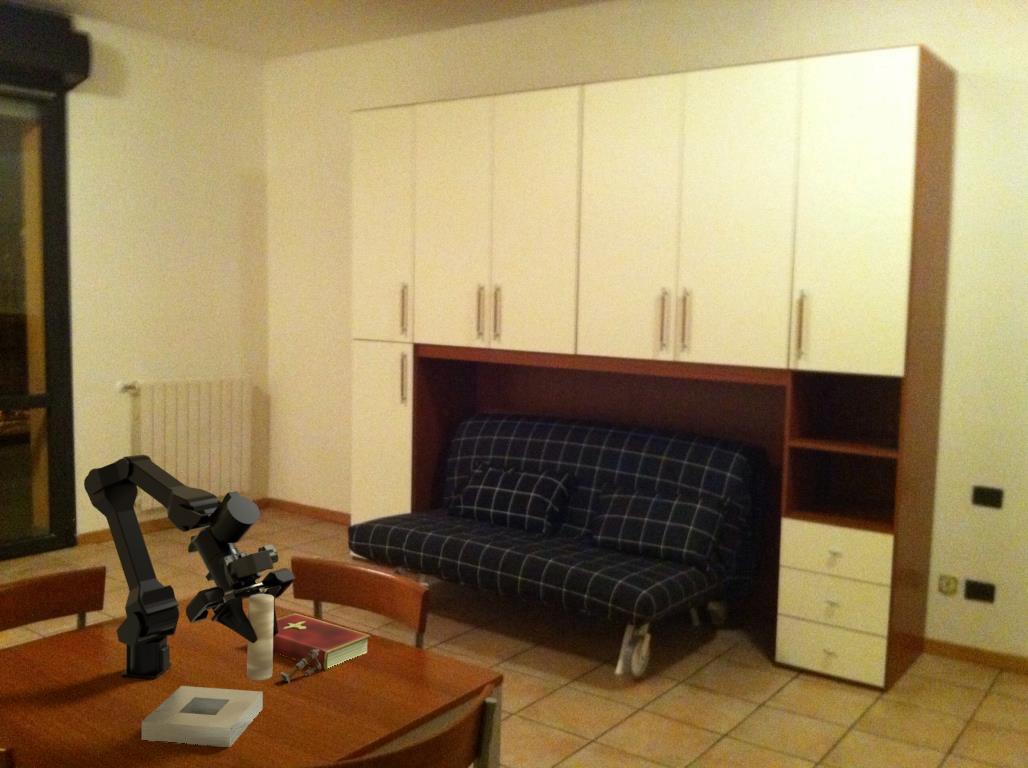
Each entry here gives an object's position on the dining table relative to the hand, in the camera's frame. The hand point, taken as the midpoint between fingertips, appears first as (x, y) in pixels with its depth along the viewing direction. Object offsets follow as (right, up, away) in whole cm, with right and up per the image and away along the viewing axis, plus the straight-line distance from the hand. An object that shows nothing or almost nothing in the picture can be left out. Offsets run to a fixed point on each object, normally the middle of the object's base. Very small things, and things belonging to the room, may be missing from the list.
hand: (265, 638), depth 155 cm
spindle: (-1, -6, +1) cm, 7 cm away
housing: (-9, -13, -2) cm, 16 cm away
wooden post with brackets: (+1, -12, +19) cm, 23 cm away
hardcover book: (0, -11, +33) cm, 35 cm away
